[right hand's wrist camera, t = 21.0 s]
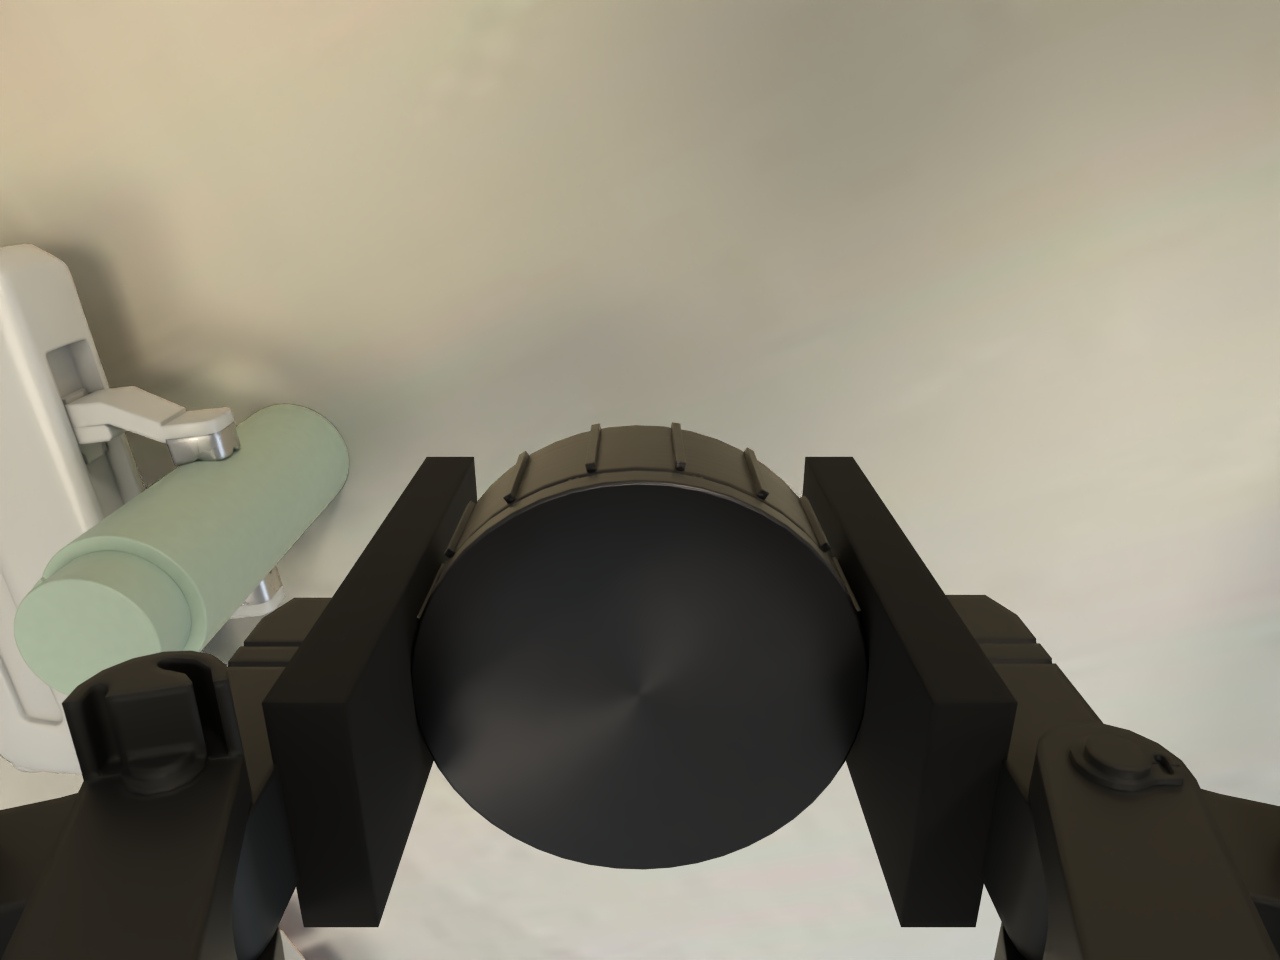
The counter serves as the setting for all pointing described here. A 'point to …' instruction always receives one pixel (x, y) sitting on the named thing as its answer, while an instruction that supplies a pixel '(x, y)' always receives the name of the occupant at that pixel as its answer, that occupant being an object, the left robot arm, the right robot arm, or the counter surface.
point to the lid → (639, 651)
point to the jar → (181, 551)
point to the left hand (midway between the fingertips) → (253, 511)
